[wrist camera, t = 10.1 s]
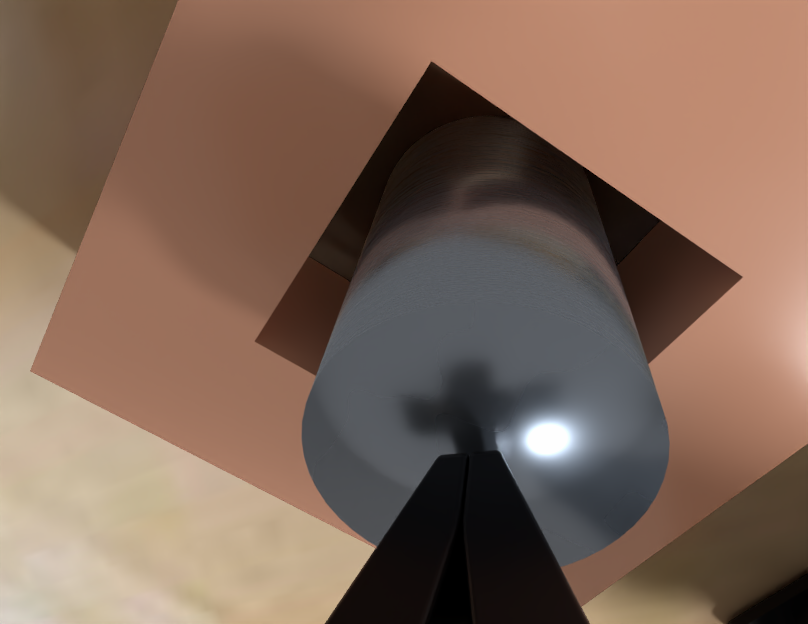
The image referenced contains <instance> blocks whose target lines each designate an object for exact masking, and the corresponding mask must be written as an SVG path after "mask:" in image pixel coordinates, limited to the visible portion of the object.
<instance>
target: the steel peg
mask: <svg viewBox="0 0 808 624" xmlns="http://www.w3.org/2000/svg"><path fill="white" fill-rule="evenodd" d="M301 439H302V446H303V454H304V458H305V462H306V465H307V468H308V471H309V474H310V476H311V478H312V480H313V482H314V484H315V486H316V488H317V490H318V491H319V493H320V495H321V496H322V498H323V499H324V501H325V502H326V503H327V505H328V506H329V507H330V508H331V509H332V510H333V512H334V513H335V514H336V515H337V516H338V517H339V518H340V519H341V520H342V521H343V522H344V523H345V524H346V525H348V526H349V527H350V528H351V529H352V530H353V531H355V532H356V533H357V534H359V535H360V536H361V537H363V538H364V539H366V540H367V541H368V542H370V543H372V544H374V545H375V546H378V544H379V543H380V541H381V540H382V538H383V537H384V535H385V534H386V532H387V531H388V529H389V528H390V527H391V525H392V524H393V522H394V521H395V519H396V518H397V516H398V515H399V513H400V512H401V510H402V509H403V507H404V506H405V504H406V503H407V501H408V500H409V498H410V497H411V495H412V494H413V492H414V491H415V489H416V488H417V487H418V485H419V484H420V482H421V481H422V479H423V478H424V476H425V475H426V473H427V472H428V470H429V469H430V467H431V466H432V464H433V463H434V461H435V460H436V459H437V457H439V456H440V455H445V454H456V453H466V454H468V455H469V457H470V455H471V454H472V453H473V452H479V451H490V450H498V451H500V452H501V453H502V455H503V457H504V459H505V461H506V463H507V465H508V467H509V469H510V470H511V472H512V474H513V476H514V478H515V480H516V482H517V484H518V486H519V488H520V490H521V492H522V494H523V496H524V497H525V499H526V501H527V503H528V505H529V507H530V509H531V511H532V513H533V515H534V517H535V519H536V521H537V523H538V524H539V526H540V528H541V530H542V532H543V534H544V536H545V538H546V540H547V542H548V544H549V546H550V548H551V550H552V552H553V553H554V555H555V557H556V559H557V561H558V563H559V565H560V567H562V566H566V565H569V564H571V563H574V562H576V561H579V560H582V559H584V558H586V557H588V556H590V555H592V554H594V553H596V552H598V551H600V550H602V549H604V548H605V547H607V546H608V545H610V544H611V543H613V542H614V541H616V540H617V539H619V538H620V537H621V536H622V535H624V534H625V533H626V532H627V531H628V530H629V529H631V528H632V527H633V526H634V525H635V524H636V523H637V522H638V521H639V519H640V518H641V517H642V516H643V515H644V514H645V513H646V512H647V510H648V508H649V507H650V505H651V504H652V502H653V501H654V499H655V498H656V496H657V494H658V492H659V490H660V487H661V485H662V483H663V480H664V478H665V473H666V469H667V465H668V461H669V446H670V441H669V433H668V425H667V421H666V418H665V415H664V411H663V408H662V405H661V402H660V399H659V396H658V393H657V390H656V387H655V383H654V380H653V377H652V374H651V371H650V368H649V365H648V362H647V359H646V356H645V353H644V350H643V347H642V344H641V340H640V337H639V334H638V331H637V328H636V325H635V322H634V319H633V316H632V313H631V310H630V307H629V304H628V301H627V298H626V294H625V291H624V288H623V285H622V282H621V279H620V276H619V273H618V270H617V267H616V264H615V261H614V258H613V255H612V252H611V248H610V245H609V242H608V239H607V236H606V233H605V230H604V227H603V224H602V221H601V218H600V215H599V212H598V209H597V206H596V202H595V199H594V196H593V193H592V190H591V187H590V184H589V181H588V178H587V176H586V174H585V172H584V170H583V168H582V166H581V165H580V164H579V163H578V162H576V161H575V160H573V159H572V158H571V157H569V156H568V155H566V154H565V153H563V152H562V151H560V150H559V149H558V148H556V147H555V146H553V145H552V144H550V143H549V142H548V141H546V140H545V139H543V138H542V137H540V136H539V135H537V134H536V133H535V132H533V131H532V130H530V129H529V128H527V127H526V126H524V125H523V124H522V123H520V122H519V121H517V120H516V119H514V118H509V117H502V116H476V117H468V118H464V119H460V120H456V121H453V122H450V123H448V124H445V125H443V126H440V127H438V128H436V129H435V130H433V131H431V132H429V133H427V134H426V135H425V136H423V137H422V138H421V139H419V140H418V141H417V142H415V143H414V144H413V145H412V146H411V147H410V148H409V149H408V150H407V151H406V152H405V154H404V155H403V156H402V157H401V159H400V160H399V161H398V163H397V164H396V166H395V168H394V169H393V171H392V173H391V175H390V177H389V180H388V182H387V185H386V187H385V190H384V193H383V195H382V198H381V201H380V203H379V206H378V209H377V212H376V214H375V217H374V220H373V222H372V225H371V228H370V231H369V233H368V236H367V239H366V241H365V244H364V247H363V250H362V252H361V255H360V258H359V260H358V263H357V266H356V269H355V271H354V274H353V277H352V280H351V282H350V285H349V288H348V290H347V293H346V296H345V299H344V301H343V304H342V307H341V309H340V312H339V315H338V318H337V320H336V323H335V326H334V328H333V331H332V334H331V337H330V339H329V342H328V345H327V347H326V350H325V353H324V356H323V358H322V361H321V364H320V366H319V369H318V372H317V375H316V377H315V380H314V383H313V385H312V388H311V391H310V394H309V396H308V399H307V402H306V405H305V410H304V415H303V419H302V437H301Z"/></svg>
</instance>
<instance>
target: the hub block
mask: <svg viewBox="0 0 808 624" xmlns="http://www.w3.org/2000/svg"><path fill="white" fill-rule="evenodd" d="M431 61H432V62H434V63H435V64H436V65H438V66H439V67H441V68H442V69H444V70H445V71H446V72H448V73H449V74H451V75H452V76H454V77H455V78H457V79H458V80H459V81H461V82H462V83H464V84H465V85H467V86H468V87H470V88H471V89H472V90H474V91H475V92H477V93H478V94H480V95H481V96H483V97H484V98H485V99H487V100H488V101H490V102H491V103H493V104H494V105H496V106H497V107H498V108H500V109H501V110H503V111H504V112H506V113H507V114H509V115H510V116H511V117H513V118H514V119H516V120H517V121H519V122H520V123H522V124H523V125H524V126H526V127H527V128H529V129H530V130H532V131H533V132H535V133H536V134H537V135H539V136H540V137H542V138H543V139H545V140H546V141H548V142H549V143H550V144H552V145H553V146H555V147H556V148H558V149H559V150H560V151H562V152H563V153H565V154H566V155H568V156H569V157H571V158H572V159H573V160H575V161H576V162H578V163H579V164H581V165H582V166H584V167H585V168H586V169H588V170H589V171H591V172H592V173H594V174H595V175H597V176H598V177H599V178H601V179H602V180H604V181H605V182H607V183H608V184H610V185H611V186H612V187H614V188H615V189H617V190H618V191H620V192H621V193H623V194H624V195H625V196H627V197H628V198H630V199H631V200H633V201H634V202H636V203H637V204H638V205H640V206H641V207H643V208H644V209H646V210H647V211H649V212H650V213H651V214H653V215H654V216H656V217H657V218H659V219H660V221H659V222H658V224H657V225H656V226H655V227H654V228H653V229H652V230H651V231H650V232H649V233H648V234H647V235H646V236H645V237H644V238H643V239H642V240H641V241H640V243H639V244H638V245H637V246H636V247H635V248H634V249H633V250H632V251H631V252H630V253H629V254H628V255H627V256H626V257H625V258H624V259H623V260H622V262H621V263H620V264H619V265H618V266H617V270H618V273H619V276H620V279H621V282H622V285H623V288H624V291H625V294H626V298H627V301H628V304H629V307H630V310H631V313H632V316H633V319H634V322H635V325H636V328H637V331H638V334H639V337H640V340H641V344H642V347H643V350H644V353H645V356H646V359H647V362H648V365H649V368H650V371H651V374H652V377H653V380H654V383H655V387H656V390H657V393H658V396H659V399H660V402H661V405H662V408H663V411H664V415H665V418H666V421H667V425H668V433H669V441H670V446H669V461H668V465H667V469H666V473H665V478H664V480H663V483H662V485H661V487H660V490H659V492H658V494H657V496H656V498H655V499H654V501H653V502H652V504H651V505H650V507H649V508H648V510H647V512H646V513H645V514H644V515H643V516H642V517H641V518H640V519H639V521H638V522H637V523H636V524H635V525H634V526H633V527H632V528H631V529H629V530H628V531H627V532H626V533H625V534H624V535H622V536H621V537H620V538H619V539H617V540H616V541H614V542H613V543H611V544H610V545H608V546H607V547H605V548H604V549H602V550H600V551H598V552H596V553H594V554H592V555H590V556H588V557H586V558H584V559H582V560H579V561H576V562H574V563H571V564H569V565H566V566H562V567H561V569H562V571H563V573H564V575H565V577H566V579H567V580H568V582H569V584H570V586H571V588H572V590H573V592H574V594H575V596H576V598H577V600H578V602H579V604H580V606H581V607H582V606H583V605H584V604H586V603H587V602H589V601H590V600H591V599H593V598H594V597H596V596H597V595H598V594H600V593H601V592H602V591H604V590H605V589H607V588H608V587H609V586H611V585H612V584H614V583H615V582H616V581H618V580H619V579H621V578H622V577H623V576H625V575H626V574H627V573H629V572H630V571H632V570H633V569H634V568H636V567H637V566H639V565H640V564H641V563H643V562H644V561H646V560H647V559H648V558H650V557H651V556H652V555H654V554H655V553H657V552H658V551H659V550H661V549H662V548H664V547H665V546H666V545H668V544H669V543H671V542H672V541H673V540H675V539H676V538H677V537H679V536H680V535H682V534H683V533H684V532H686V531H687V530H689V529H690V528H691V527H693V526H694V525H696V524H697V523H698V522H700V521H701V520H702V519H704V518H705V517H707V516H708V515H709V514H711V513H712V512H714V511H715V510H716V509H718V508H719V507H721V506H722V505H723V504H725V503H726V502H727V501H729V500H730V499H732V498H733V497H734V496H736V495H737V494H739V493H740V492H741V491H743V490H744V489H746V488H747V487H748V486H750V485H751V484H752V483H754V482H755V481H757V480H758V479H759V478H761V477H762V476H764V475H765V474H766V473H768V472H769V471H771V470H772V469H773V468H775V467H776V466H777V465H779V464H780V463H782V462H783V461H784V460H786V459H787V458H789V457H790V456H791V455H793V454H794V453H796V452H797V451H798V450H800V449H801V448H802V447H804V446H805V445H807V444H808V0H178V2H177V5H176V7H175V10H174V12H173V15H172V17H171V20H170V22H169V25H168V27H167V30H166V32H165V35H164V37H163V40H162V42H161V45H160V47H159V50H158V52H157V55H156V57H155V60H154V62H153V65H152V67H151V70H150V72H149V75H148V77H147V80H146V82H145V85H144V87H143V90H142V92H141V95H140V97H139V100H138V102H137V105H136V107H135V110H134V112H133V115H132V117H131V120H130V122H129V125H128V127H127V130H126V132H125V135H124V137H123V140H122V142H121V145H120V147H119V150H118V152H117V155H116V157H115V160H114V162H113V165H112V167H111V170H110V172H109V175H108V177H107V180H106V182H105V185H104V187H103V190H102V192H101V195H100V197H99V200H98V202H97V205H96V207H95V210H94V212H93V215H92V217H91V220H90V222H89V225H88V227H87V230H86V232H85V235H84V237H83V240H82V242H81V245H80V247H79V250H78V252H77V255H76V257H75V260H74V262H73V265H72V267H71V270H70V272H69V275H68V277H67V280H66V282H65V285H64V288H63V290H62V293H61V295H60V298H59V300H58V303H57V305H56V308H55V310H54V313H53V315H52V318H51V320H50V323H49V325H48V328H47V330H46V333H45V335H44V338H43V340H42V343H41V345H40V348H39V350H38V353H37V355H36V358H35V360H34V363H33V365H32V368H31V370H30V371H31V372H33V373H35V374H37V375H39V376H41V377H43V378H45V379H47V380H49V381H50V382H52V383H54V384H56V385H58V386H60V387H62V388H64V389H66V390H68V391H70V392H72V393H74V394H76V395H78V396H80V397H82V398H84V399H86V400H88V401H90V402H91V403H93V404H95V405H97V406H99V407H101V408H103V409H105V410H107V411H109V412H111V413H113V414H115V415H117V416H119V417H121V418H123V419H125V420H127V421H129V422H131V423H132V424H134V425H136V426H138V427H140V428H142V429H144V430H146V431H148V432H150V433H152V434H154V435H156V436H158V437H160V438H162V439H164V440H166V441H168V442H170V443H172V444H173V445H175V446H177V447H179V448H181V449H183V450H185V451H187V452H189V453H191V454H193V455H195V456H197V457H199V458H201V459H203V460H205V461H207V462H209V463H211V464H213V465H214V466H216V467H218V468H220V469H222V470H224V471H226V472H228V473H230V474H232V475H234V476H236V477H238V478H240V479H242V480H244V481H246V482H248V483H250V484H252V485H253V486H255V487H257V488H259V489H261V490H263V491H265V492H267V493H269V494H271V495H273V496H275V497H277V498H279V499H281V500H283V501H285V502H287V503H289V504H291V505H293V506H294V507H296V508H298V509H300V510H302V511H304V512H306V513H308V514H310V515H312V516H314V517H316V518H318V519H320V520H322V521H324V522H326V523H328V524H330V525H332V526H334V527H335V528H337V529H339V530H341V531H343V532H345V533H347V534H349V535H351V536H353V537H355V538H357V539H359V540H361V541H363V542H365V543H367V544H369V545H371V546H373V547H375V548H376V547H377V546H375V545H374V544H372V543H370V542H368V541H367V540H366V539H364V538H363V537H361V536H360V535H359V534H357V533H356V532H355V531H353V530H352V529H351V528H350V527H349V526H348V525H346V524H345V523H344V522H343V521H342V520H341V519H340V518H339V517H338V516H337V515H336V514H335V513H334V512H333V510H332V509H331V508H330V507H329V506H328V505H327V503H326V502H325V501H324V499H323V498H322V496H321V495H320V493H319V491H318V490H317V488H316V486H315V484H314V482H313V480H312V478H311V476H310V474H309V471H308V468H307V465H306V462H305V458H304V454H303V446H302V439H301V437H302V419H303V415H304V410H305V405H306V402H307V399H308V396H309V394H310V391H311V388H312V385H313V383H314V380H315V377H316V375H317V372H318V369H319V366H320V364H321V361H322V358H323V356H324V353H325V350H326V347H327V345H328V342H329V339H330V337H331V334H332V331H333V328H334V326H335V323H336V320H337V318H338V315H339V312H340V309H341V307H342V304H343V301H344V299H345V296H346V293H347V290H348V288H349V285H350V281H348V280H347V279H345V278H343V277H342V276H340V275H338V274H337V273H335V272H333V271H332V270H330V269H328V268H327V267H325V266H323V265H322V264H320V263H318V262H317V261H315V260H313V259H312V258H310V257H308V256H309V254H310V253H311V251H312V250H313V248H314V246H315V245H316V243H317V242H318V240H319V238H320V237H321V235H322V234H323V232H324V231H325V229H326V227H327V226H328V224H329V223H330V221H331V219H332V218H333V216H334V215H335V213H336V211H337V210H338V208H339V207H340V205H341V204H342V202H343V200H344V199H345V197H346V196H347V194H348V192H349V191H350V189H351V188H352V186H353V185H354V183H355V181H356V180H357V178H358V177H359V175H360V173H361V172H362V170H363V169H364V167H365V166H366V164H367V162H368V161H369V159H370V158H371V156H372V154H373V153H374V151H375V150H376V148H377V147H378V145H379V143H380V142H381V140H382V139H383V137H384V135H385V134H386V132H387V131H388V129H389V127H390V126H391V124H392V123H393V121H394V120H395V118H396V116H397V115H398V113H399V112H400V110H401V108H402V107H403V105H404V104H405V102H406V101H407V99H408V97H409V96H410V94H411V93H412V91H413V89H414V88H415V86H416V85H417V83H418V82H419V80H420V78H421V77H422V75H423V74H424V72H425V70H426V69H427V67H428V66H429V64H430V63H431Z"/></svg>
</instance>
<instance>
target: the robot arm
mask: <svg viewBox="0 0 808 624" xmlns="http://www.w3.org/2000/svg"><path fill="white" fill-rule="evenodd" d="M325 624H590V623H589V621H588V619H587V617H586V615H585V613H584V611H583V609H582V608H581V606H580V604H579V602H578V600H577V598H576V596H575V594H574V592H573V590H572V588H571V586H570V584H569V582H568V580H567V579H566V577H565V575H564V573H563V571H562V569H561V567H560V565H559V563H558V561H557V559H556V557H555V555H554V553H553V552H552V550H551V548H550V546H549V544H548V542H547V540H546V538H545V536H544V534H543V532H542V530H541V528H540V526H539V524H538V523H537V521H536V519H535V517H534V515H533V513H532V511H531V509H530V507H529V505H528V503H527V501H526V499H525V497H524V496H523V494H522V492H521V490H520V488H519V486H518V484H517V482H516V480H515V478H514V476H513V474H512V472H511V470H510V469H509V467H508V465H507V463H506V461H505V459H504V457H503V455H502V453H501V452H500V451H498V450H490V451H479V452H473V453H472V454H471V455H470V457H469V455H468V454H466V453H456V454H445V455H440V456H439V457H437V459H436V460H435V461H434V463H433V464H432V466H431V467H430V469H429V470H428V472H427V473H426V475H425V476H424V478H423V479H422V481H421V482H420V484H419V485H418V487H417V488H416V489H415V491H414V492H413V494H412V495H411V497H410V498H409V500H408V501H407V503H406V504H405V506H404V507H403V509H402V510H401V512H400V513H399V515H398V516H397V518H396V519H395V521H394V522H393V524H392V525H391V527H390V528H389V529H388V531H387V532H386V534H385V535H384V537H383V538H382V540H381V541H380V543H379V544H378V546H377V547H376V549H375V550H374V552H373V553H372V555H371V556H370V558H369V559H368V561H367V562H366V564H365V565H364V567H363V568H362V569H361V571H360V572H359V574H358V575H357V577H356V578H355V580H354V581H353V583H352V584H351V586H350V587H349V589H348V590H347V592H346V593H345V595H344V596H343V598H342V599H341V601H340V602H339V604H338V605H337V607H336V608H335V610H334V611H333V612H332V614H331V615H330V617H329V618H328V620H327V621H326V623H325ZM728 624H808V574H807V575H805V576H804V577H802V578H800V579H799V580H797V581H795V582H794V583H792V584H790V585H789V586H787V587H786V588H784V589H782V590H781V591H779V592H777V593H776V594H774V595H772V596H771V597H769V598H767V599H766V600H764V601H762V602H761V603H759V604H757V605H756V606H754V607H752V608H751V609H749V610H748V611H746V612H744V613H743V614H741V615H739V616H738V617H736V618H734V619H733V620H731V621H730V622H729V623H728Z"/></svg>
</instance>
